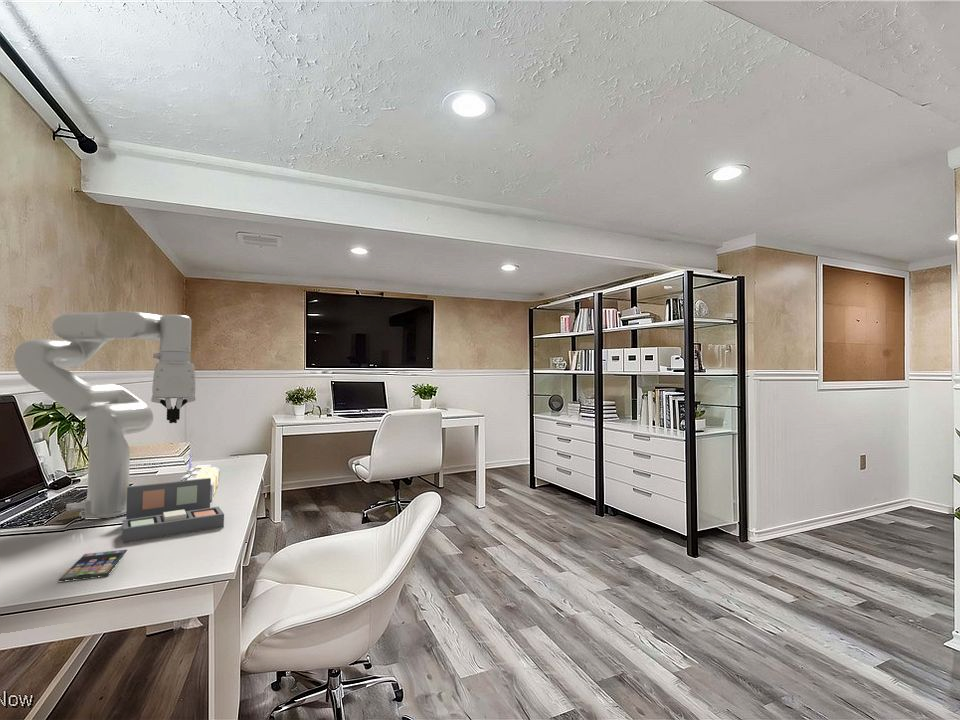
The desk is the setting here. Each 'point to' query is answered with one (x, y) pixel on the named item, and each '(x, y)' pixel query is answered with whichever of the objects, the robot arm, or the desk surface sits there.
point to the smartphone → (93, 565)
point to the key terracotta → (203, 513)
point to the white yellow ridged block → (203, 474)
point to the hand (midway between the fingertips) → (172, 422)
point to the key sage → (141, 522)
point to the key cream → (174, 515)
